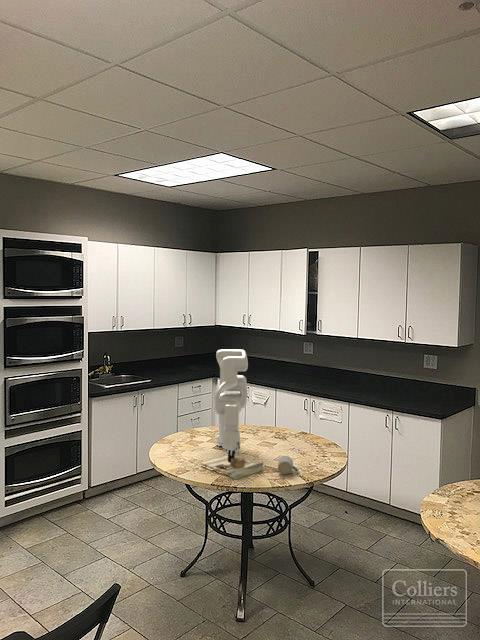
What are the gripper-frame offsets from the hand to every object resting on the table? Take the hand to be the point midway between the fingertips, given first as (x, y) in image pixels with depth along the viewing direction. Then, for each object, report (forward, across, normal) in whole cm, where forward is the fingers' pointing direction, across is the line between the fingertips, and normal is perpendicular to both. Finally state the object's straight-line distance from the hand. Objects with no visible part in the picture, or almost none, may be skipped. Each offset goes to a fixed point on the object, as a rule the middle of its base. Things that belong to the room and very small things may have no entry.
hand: (231, 461), depth 278 cm
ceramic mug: (+4, +25, +17) cm, 30 cm away
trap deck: (+3, 0, 0) cm, 3 cm away
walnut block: (+1, +5, 0) cm, 5 cm away
